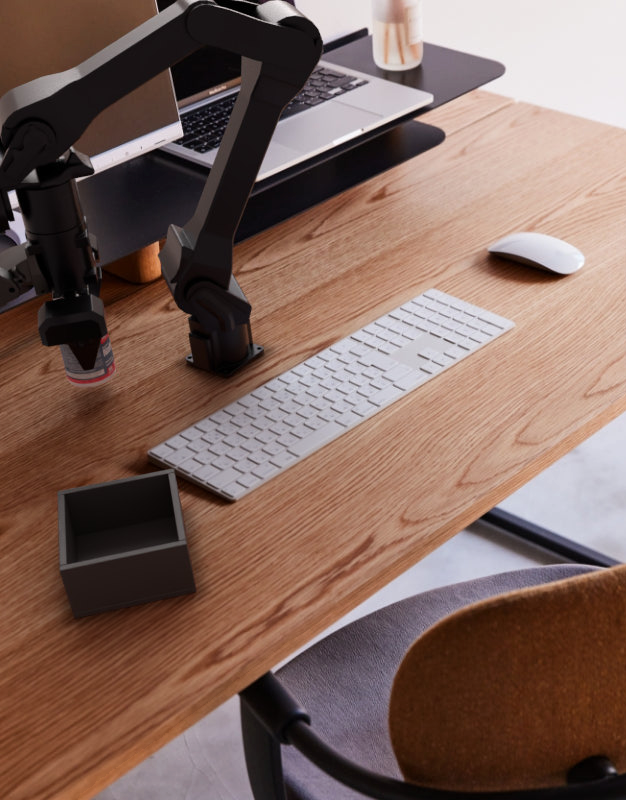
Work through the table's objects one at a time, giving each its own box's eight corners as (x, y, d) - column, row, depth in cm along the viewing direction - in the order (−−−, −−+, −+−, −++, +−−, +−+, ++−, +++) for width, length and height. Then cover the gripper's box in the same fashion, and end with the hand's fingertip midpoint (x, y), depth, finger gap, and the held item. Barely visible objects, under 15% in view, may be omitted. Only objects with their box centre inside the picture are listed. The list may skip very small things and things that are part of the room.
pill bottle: (119, 383, 113) (102, 311, 108) (69, 393, 112) (49, 321, 107) (114, 357, 117) (98, 286, 112) (66, 366, 116) (47, 296, 111)
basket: (70, 538, 97) (57, 491, 93) (183, 514, 98) (173, 468, 95) (74, 619, 89) (59, 570, 85) (196, 592, 90) (186, 544, 87)
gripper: (-27, 195, 110) (11, 324, 119) (-36, 280, 95) (7, 420, 104) (83, 179, 112) (112, 307, 121) (90, 260, 97) (122, 398, 106)
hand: (87, 355), depth 113 cm, fingers closed on pill bottle, 5 cm apart
